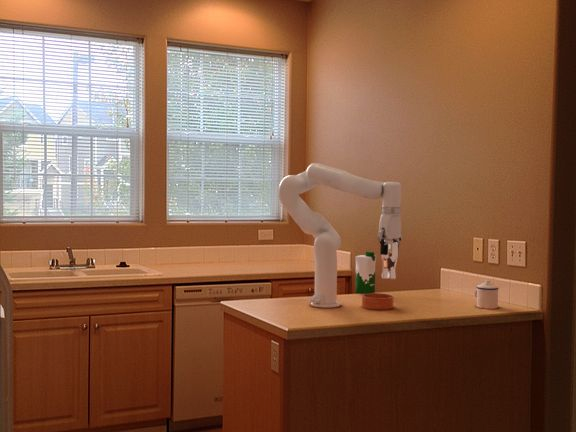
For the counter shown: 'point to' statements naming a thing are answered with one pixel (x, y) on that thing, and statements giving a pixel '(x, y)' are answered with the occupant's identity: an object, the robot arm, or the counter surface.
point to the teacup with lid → (487, 295)
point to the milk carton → (365, 273)
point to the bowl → (377, 301)
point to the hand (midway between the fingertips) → (389, 253)
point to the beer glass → (390, 261)
